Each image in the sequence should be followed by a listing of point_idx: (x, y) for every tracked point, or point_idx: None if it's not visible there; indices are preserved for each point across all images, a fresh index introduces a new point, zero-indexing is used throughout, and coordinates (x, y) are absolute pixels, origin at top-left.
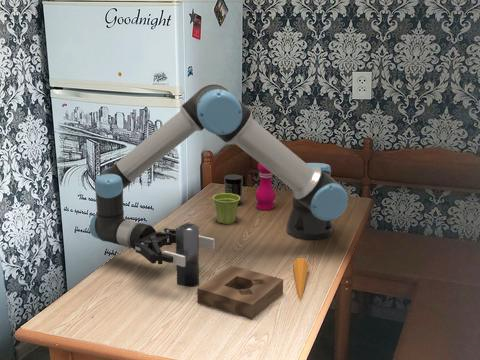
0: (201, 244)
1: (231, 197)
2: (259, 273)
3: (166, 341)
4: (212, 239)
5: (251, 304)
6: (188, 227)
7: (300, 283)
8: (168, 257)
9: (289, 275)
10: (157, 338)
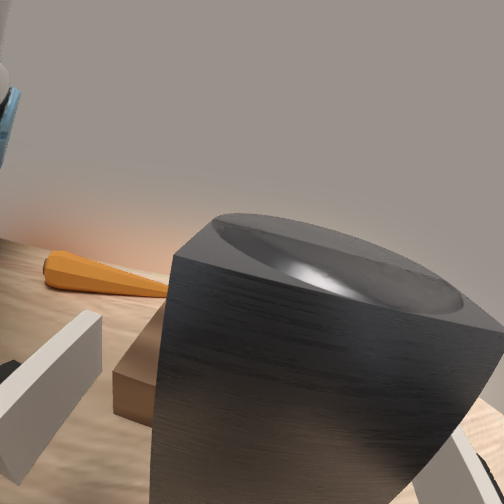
0: (53, 423)
1: None
2: (162, 310)
3: (483, 426)
4: (95, 317)
5: None
6: (353, 255)
7: (148, 280)
8: (484, 463)
9: (78, 299)
10: (492, 440)
